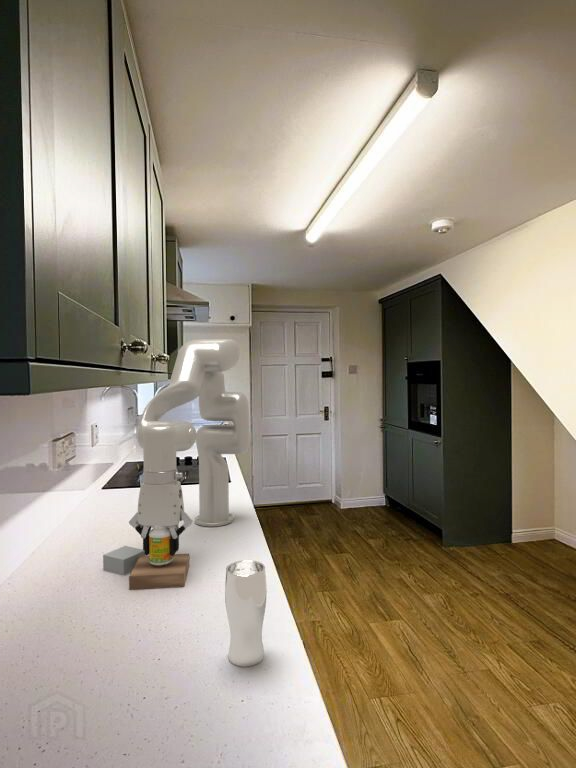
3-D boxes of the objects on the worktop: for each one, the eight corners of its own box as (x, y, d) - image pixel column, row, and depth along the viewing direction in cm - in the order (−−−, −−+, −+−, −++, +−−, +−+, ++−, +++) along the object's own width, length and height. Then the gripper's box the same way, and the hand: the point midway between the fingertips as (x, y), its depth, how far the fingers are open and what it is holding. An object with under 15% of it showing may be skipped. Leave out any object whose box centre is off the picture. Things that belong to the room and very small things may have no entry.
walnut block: (140, 567, 116) (140, 555, 115) (189, 565, 117) (189, 553, 117) (129, 589, 104) (129, 576, 104) (184, 586, 105) (184, 573, 105)
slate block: (125, 561, 121) (125, 545, 121) (145, 565, 117) (145, 550, 117) (103, 571, 114) (103, 554, 114) (123, 576, 111) (123, 559, 111)
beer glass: (267, 643, 82) (266, 559, 82) (266, 668, 75) (266, 576, 75) (227, 644, 82) (226, 560, 82) (223, 669, 75) (222, 577, 75)
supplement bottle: (149, 567, 107) (148, 524, 107) (149, 558, 112) (149, 518, 112) (173, 564, 108) (172, 522, 108) (172, 555, 114) (172, 516, 113)
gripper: (200, 474, 113) (200, 548, 113) (131, 473, 114) (132, 547, 115) (191, 481, 106) (192, 560, 106) (118, 480, 107) (119, 559, 107)
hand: (161, 552), depth 110 cm, fingers closed on supplement bottle, 5 cm apart
